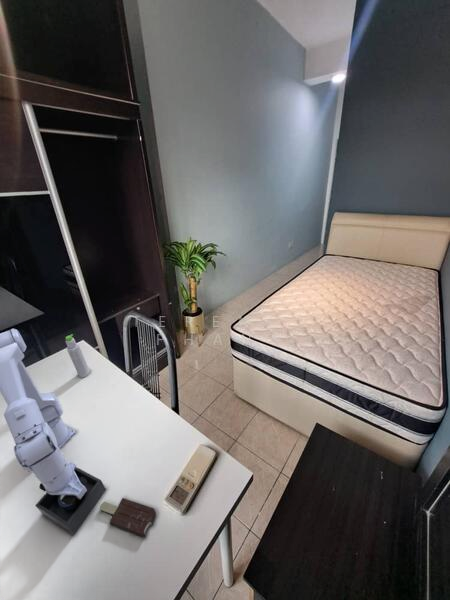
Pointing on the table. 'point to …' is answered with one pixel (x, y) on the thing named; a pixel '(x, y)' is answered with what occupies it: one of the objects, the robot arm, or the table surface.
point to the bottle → (77, 357)
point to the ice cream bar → (130, 516)
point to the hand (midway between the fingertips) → (72, 497)
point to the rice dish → (64, 506)
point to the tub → (76, 516)
